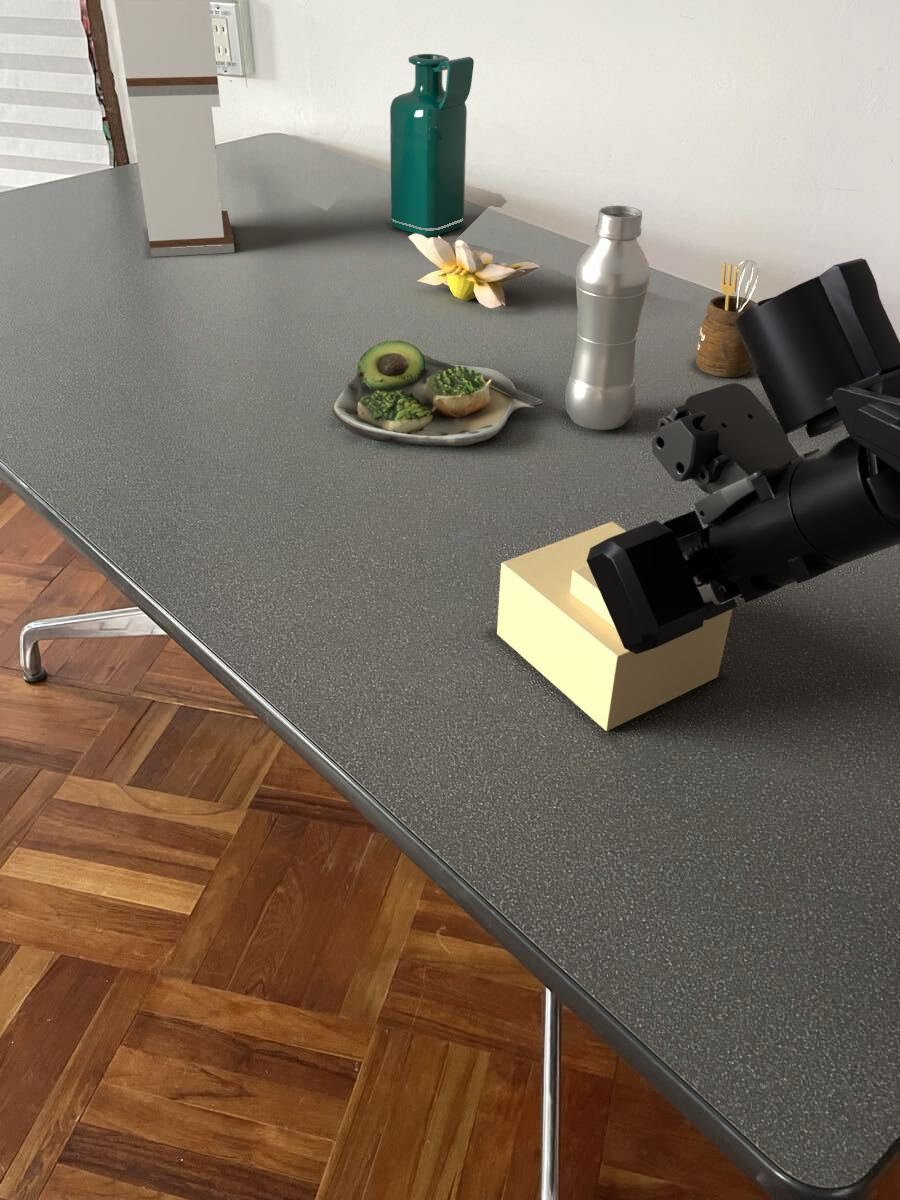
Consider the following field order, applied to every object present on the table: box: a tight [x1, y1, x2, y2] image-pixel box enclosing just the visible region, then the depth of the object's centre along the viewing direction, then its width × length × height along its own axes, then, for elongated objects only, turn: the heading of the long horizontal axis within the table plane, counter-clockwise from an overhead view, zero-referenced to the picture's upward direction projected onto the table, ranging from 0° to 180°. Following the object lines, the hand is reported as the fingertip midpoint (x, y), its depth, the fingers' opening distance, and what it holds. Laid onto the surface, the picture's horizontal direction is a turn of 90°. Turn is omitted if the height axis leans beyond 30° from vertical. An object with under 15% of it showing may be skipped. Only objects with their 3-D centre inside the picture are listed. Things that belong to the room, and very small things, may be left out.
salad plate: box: [331, 339, 544, 447], centre depth 104 cm, size 19×18×5 cm
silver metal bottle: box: [564, 205, 651, 431], centre depth 98 cm, size 6×7×20 cm
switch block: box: [496, 521, 734, 732], centre depth 73 cm, size 12×10×8 cm
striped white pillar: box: [113, 0, 236, 258], centre depth 134 cm, size 11×11×35 cm
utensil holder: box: [695, 259, 759, 378], centre depth 111 cm, size 6×6×12 cm
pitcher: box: [389, 53, 475, 238], centre depth 145 cm, size 10×8×22 cm
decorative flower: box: [408, 233, 541, 309], centre depth 127 cm, size 15×11×10 cm
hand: (656, 584), depth 68 cm, fingers closed, pressing on button
